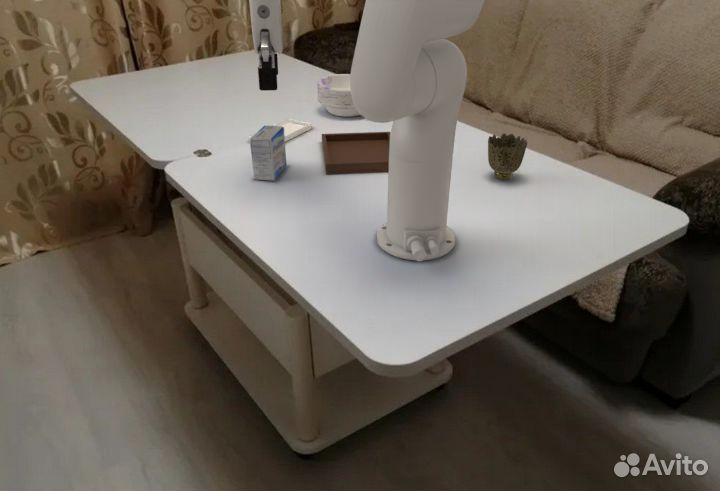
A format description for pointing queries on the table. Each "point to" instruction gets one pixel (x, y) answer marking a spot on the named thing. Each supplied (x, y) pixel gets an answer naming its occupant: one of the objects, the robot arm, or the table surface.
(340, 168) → the tray
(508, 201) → the table surface
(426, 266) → the table surface
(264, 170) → the medicine box
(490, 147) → the cup
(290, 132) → the phone case
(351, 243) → the table surface
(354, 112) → the paper bowls
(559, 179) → the table surface
